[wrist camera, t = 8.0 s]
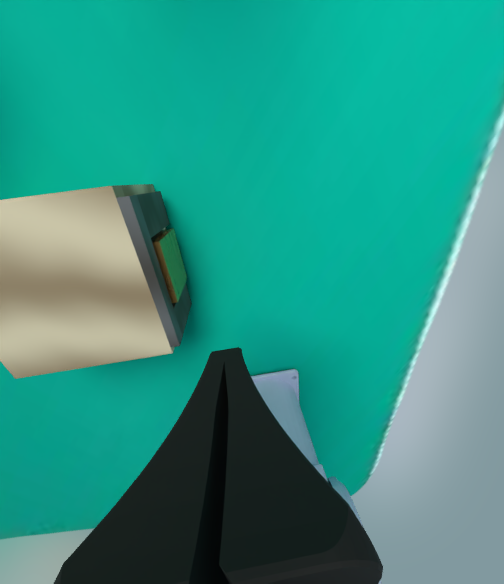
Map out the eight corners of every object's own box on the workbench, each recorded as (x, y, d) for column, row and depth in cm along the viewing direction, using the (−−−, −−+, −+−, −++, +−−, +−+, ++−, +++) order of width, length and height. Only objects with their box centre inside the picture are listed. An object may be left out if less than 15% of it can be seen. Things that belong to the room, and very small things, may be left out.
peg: (187, 278, 18) (177, 302, 14) (15, 303, 17) (-39, 335, 14) (173, 228, 16) (159, 241, 13) (-20, 254, 16) (-92, 276, 12)
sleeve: (194, 304, 20) (181, 351, 15) (75, 322, 20) (15, 378, 14) (161, 183, 16) (125, 184, 10) (6, 203, 15) (-123, 215, 10)
